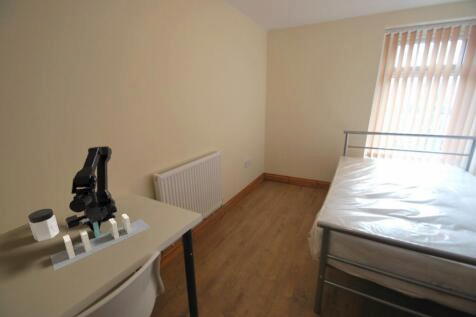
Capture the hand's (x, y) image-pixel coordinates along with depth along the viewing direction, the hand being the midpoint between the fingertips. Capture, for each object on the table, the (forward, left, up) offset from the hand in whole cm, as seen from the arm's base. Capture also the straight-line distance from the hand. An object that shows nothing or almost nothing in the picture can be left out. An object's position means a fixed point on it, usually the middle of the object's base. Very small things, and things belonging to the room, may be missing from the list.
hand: (96, 230), depth 98 cm
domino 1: (+8, -11, -2) cm, 13 cm away
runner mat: (+8, +2, -2) cm, 8 cm away
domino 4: (+8, +6, -2) cm, 10 cm away
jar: (-16, -16, -2) cm, 23 cm away
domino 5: (+8, +11, -2) cm, 13 cm away
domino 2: (+8, -5, -2) cm, 10 cm away
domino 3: (0, 0, -2) cm, 2 cm away
